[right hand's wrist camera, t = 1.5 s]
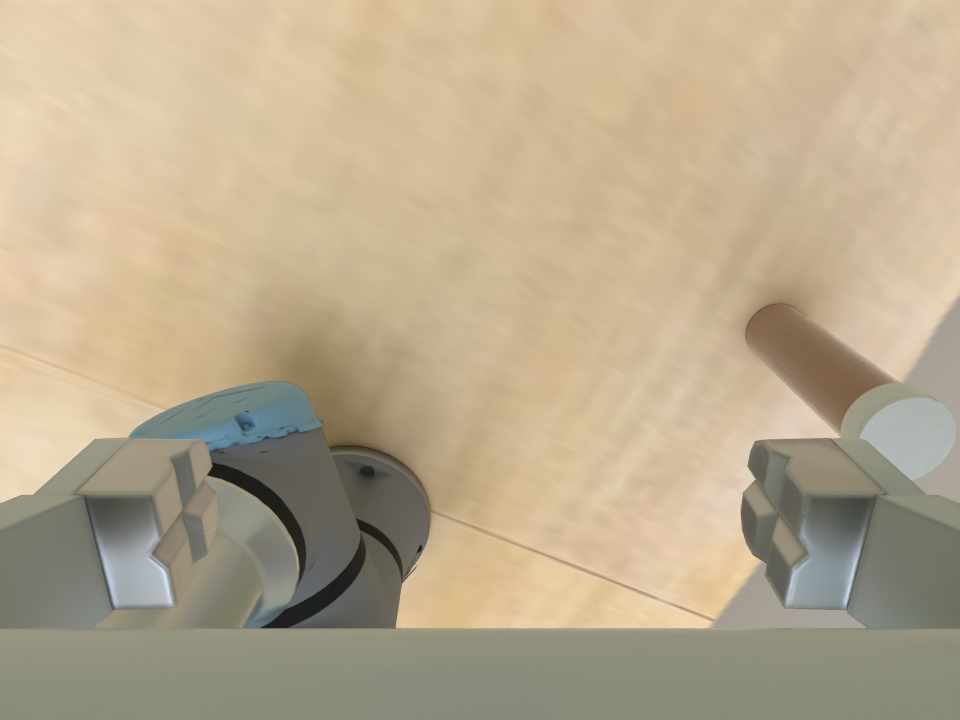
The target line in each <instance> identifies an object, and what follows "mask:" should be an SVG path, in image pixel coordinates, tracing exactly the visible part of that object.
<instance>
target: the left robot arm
mask: <svg viewBox="0 0 960 720" xmlns="http://www.w3.org/2000/svg"><path fill="white" fill-rule="evenodd" d="M321 427H323V422H322V421H321V420H320V419H318V417H317V415H316V413H315V411H314V408H313V406H312V404H311V402H310V399H309V397H308V395H307V394H306V392H305V391H304V390H303V389H302V388H301V387H299V386H297V385H295V384H292V383H289V382H282V381H268V382H259V383H253V384H248V385H243V386H238V387H234V388H230V389H226V390H223V391H219V392H216V393H212V394H209V395H206V396H203V397H200V398H197V399H194V400H191V401H189V402H186V403H183V404H181V405H178V406H176V407H174V408H171V409H169V410H167V411H165V412H162V413H160V414H158V415H156V416H155V417H153V418H151V419H149V420H147V421H146V422H144V423H143V424H141V425H140V426H138V427H137V428H136V429H135V430H134V431H133V432H132V433H131V434H130V435H129V437H128V438H134V439H137V438H142V439H197V440H203V441H204V442H205V444H206V445H207V446H208V448H209V453H210V457H211V462H212V468H211V470H210V471H209V473H208V474H207V476H206V477H205V479H204V480H205V481H206V482H207V483H208V484H209V485H210V486H211V487H212V488H213V489H214V490H215V491H216V492H217V497H218V504H219V525H218V529H217V533H216V537H215V542H214V543H213V545H212V547H211V549H210V551H209V553H208V554H207V555H206V556H205V557H203V558H201V559H200V560H198V561H196V562H195V563H193V566H194V572H195V577H194V578H193V580H192V582H191V584H190V585H189V587H188V589H187V590H186V592H185V594H184V595H183V597H182V599H181V600H180V602H179V604H178V606H177V607H176V608H170V609H134V610H112V611H113V613H112V614H111V615H110V616H108V617H107V618H106V619H104V620H103V621H101V622H100V623H99V624H97V625H96V626H95V627H93V628H395V627H396V620H397V613H398V606H399V600H400V593H401V586H402V583H403V582H404V581H405V579H406V578H407V577H408V576H409V575H410V574H411V573H412V572H413V571H414V570H415V568H416V567H417V566H416V567H415V568H414V569H413V571H412V572H411V573H410V574H409V575H408V573H409V572H410V570H411V569H412V567H413V566H414V565H415V563H416V562H417V560H418V559H419V557H420V556H421V554H422V552H423V550H424V547H425V545H426V542H427V539H428V535H429V528H430V517H431V515H430V506H429V501H428V498H427V495H426V493H425V490H424V488H423V487H422V485H421V483H420V482H419V480H418V479H417V478H416V476H415V475H414V474H413V473H412V472H411V471H410V470H409V469H408V468H407V467H406V466H404V465H403V464H402V463H400V462H399V461H397V460H396V459H394V458H392V457H390V456H389V455H386V454H384V453H382V452H379V451H376V450H373V449H369V448H364V447H357V446H339V447H332V448H329V446H328V444H327V441H326V438H325V436H324V433H323V430H322V428H321ZM407 575H408V576H407ZM406 576H407V577H406ZM405 577H406V578H405Z"/></svg>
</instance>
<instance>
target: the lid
mask: <svg viewBox="0 0 960 720" xmlns="http://www.w3.org/2000/svg"><path fill="white" fill-rule="evenodd" d="M841 438H861V439H864V440H867V441H868V442H869V443H870V444H871V445H872V446H873V447H875V448H876V449H877V450H878V451H879V452H880V453H881V454H882V455H883V456H884V457H886V458H887V459H888V460H889V461H890V462H891V463H892V464H893V465H894V466H896V467H897V468H898V469H899V470H900V471H901V472H902V473H903V474H904V475H906V476H907V477H908V478H909V479H910V480H914V479H917V478H919V477H922V476H924V475H926V474H927V473H929V472H931V471H932V470H934V469H935V468H936V467H937V466H939V465H940V464H941V463H942V462H943V461H944V459H945V458H946V457H947V456H948V454H949V453H950V451H951V449H952V447H953V445H954V442H955V438H956V422H955V419H954V417H953V415H952V413H951V412H950V410H949V409H948V408H947V407H946V406H945V405H943V404H942V403H940V402H939V401H938V400H936V399H935V398H933V397H932V396H930V395H929V394H927V393H926V392H924V391H923V390H921V389H920V388H918V387H916V386H914V385H910V384H905V383H890V384H885V385H881V386H878V387H875V388H873V389H871V390H869V391H867V392H866V393H864V394H863V395H861V396H860V397H859V398H858V399H857V400H856V401H855V402H854V403H853V404H852V405H851V406H850V408H849V409H848V410H847V412H846V414H845V416H844V418H843V421H842V425H841Z"/></svg>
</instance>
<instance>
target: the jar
mask: <svg viewBox="0 0 960 720" xmlns="http://www.w3.org/2000/svg"><path fill="white" fill-rule="evenodd" d="M746 341H747V344H748V347H749V348H750V350H751V351H752V352H753V353H754V354H755V355H756V356H757V357H758V358H759V359H760V360H761V361H762V362H763V363H764V364H765V365H766V366H768V367H769V368H770V369H771V370H772V371H773V372H774V373H775V374H776V375H777V376H778V377H779V378H780V379H781V380H782V381H783V382H784V383H785V384H786V385H787V386H788V387H789V388H790V389H791V390H792V391H793V392H794V393H795V394H796V395H797V396H798V397H799V398H800V399H801V400H802V401H803V402H805V403H806V404H807V405H808V406H809V407H810V408H811V409H812V410H813V411H814V412H815V413H816V414H817V415H818V416H819V417H820V418H821V419H822V420H823V421H824V422H825V423H826V424H827V425H828V426H829V427H830V428H831V429H832V430H833V431H834V432H835V433H836V434H837V435H838V436H839V437H840V438H841V425H842V421H843V418H844V416H845V414H846V412H847V410H848V409H849V408H850V406H851V405H852V404H853V403H854V402H855V401H856V400H857V399H858V398H859V397H860V396H861V395H863V394H864V393H866V392H867V391H869V390H871V389H873V388H875V387H878V386H881V385H885V384H890V383H900V382H899V381H898V380H896V379H895V378H893V377H892V376H890V375H889V374H888V373H886V372H885V371H883V370H882V369H881V368H879V367H878V366H876V365H875V364H873V363H872V362H871V361H869V360H868V359H866V358H865V357H863V356H862V355H861V354H859V353H858V352H856V351H855V350H854V349H852V348H851V347H849V346H848V345H846V344H845V343H844V342H842V341H841V340H839V339H838V338H836V337H835V336H834V335H832V334H831V333H829V332H828V331H827V330H825V329H824V328H822V327H821V326H819V325H818V324H817V323H815V322H814V321H812V320H811V319H809V318H808V317H807V316H805V315H804V314H802V313H801V312H799V311H798V310H797V309H795V308H794V307H792V306H789V305H786V304H774V305H770V306H767V307H765V308H763V309H761V310H760V311H759V312H757V313H756V314H755V315H754V316H753V317H752V319H751V320H750V322H749V324H748V326H747V330H746Z"/></svg>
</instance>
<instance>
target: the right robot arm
mask: <svg viewBox="0 0 960 720" xmlns="http://www.w3.org/2000/svg"><path fill="white" fill-rule="evenodd" d="M211 468H212V462H211V457H210V453H209V448H208V446H207V445H206V444H205V442H204V441H203V440H197V439H142V438H137V439H134V438H104V439H95V440H93V441H92V442H91V443H90V444H89V445H88V446H87V447H86V448H85V449H83V450H82V451H81V452H80V453H79V454H78V455H77V456H76V457H75V458H73V459H72V460H71V461H70V462H69V463H68V464H67V465H66V466H65V467H63V468H62V469H61V470H60V471H59V472H58V473H57V474H56V475H55V476H53V477H52V478H51V479H50V480H49V481H48V482H47V483H46V484H45V485H43V486H42V487H41V488H40V489H39V490H38V491H37V492H36V493H35V494H33V495H20V496H18V497H15V498H13V499H10V500H8V501H5V502H3V503H0V720H960V503H957V502H955V501H952V500H950V499H947V498H945V497H942V496H940V495H927V494H925V493H924V492H923V491H922V490H921V489H920V488H919V487H918V486H917V485H915V484H914V483H913V482H912V481H911V480H910V479H909V478H908V477H907V476H906V475H904V474H903V473H902V472H901V471H900V470H899V469H898V468H897V467H896V466H894V465H893V464H892V463H891V462H890V461H889V460H888V459H887V458H886V457H884V456H883V455H882V454H881V453H880V452H879V451H878V450H877V449H876V448H875V447H873V446H872V445H871V444H870V443H869V442H868V441H867V440H864V439H861V438H834V439H829V438H813V439H771V440H759V441H755V442H754V445H753V447H752V449H751V451H750V456H749V462H748V468H749V470H750V471H751V473H752V474H753V476H754V477H755V479H756V480H755V481H754V482H753V483H752V484H751V485H750V486H749V487H748V488H747V489H746V490H745V491H744V492H743V498H742V506H741V522H742V531H743V534H744V537H745V541H746V544H747V545H748V547H749V549H750V551H751V553H752V554H753V555H754V556H755V557H757V558H759V559H760V560H762V561H764V562H765V563H767V566H766V572H765V577H766V578H767V580H768V582H769V583H770V585H771V587H772V589H773V590H774V592H775V594H776V595H777V597H778V599H779V600H780V602H781V604H782V605H783V607H784V608H788V609H825V610H847V613H848V614H849V615H851V616H852V617H853V618H855V619H856V620H857V621H859V622H860V623H862V624H863V625H864V626H866V627H867V628H93V627H95V626H96V625H97V624H99V623H100V622H101V621H103V620H104V619H106V618H107V617H108V616H110V615H111V614H112V613H113V611H112V610H134V609H170V608H176V607H177V606H178V604H179V602H180V600H181V599H182V597H183V595H184V594H185V592H186V590H187V589H188V587H189V585H190V584H191V582H192V580H193V578H194V577H195V572H194V566H193V563H195V562H196V561H198V560H200V559H201V558H203V557H205V556H206V555H207V554H208V553H209V551H210V549H211V547H212V545H213V543H214V542H215V537H216V533H217V529H218V525H219V504H218V497H217V492H216V491H215V490H214V489H213V488H212V487H211V486H210V485H209V484H208V483H207V482H206V481H205V480H204V479H205V477H206V476H207V474H208V473H209V471H210V470H211Z"/></svg>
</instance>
